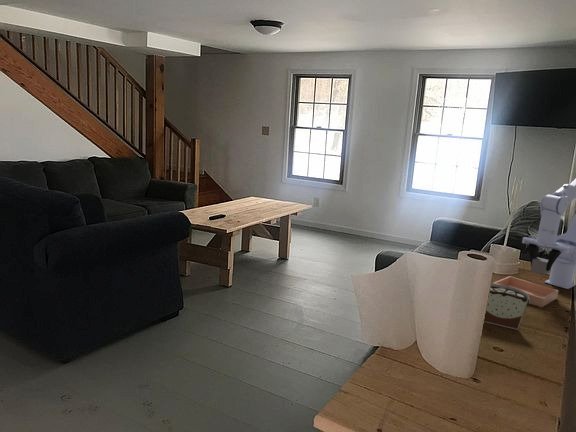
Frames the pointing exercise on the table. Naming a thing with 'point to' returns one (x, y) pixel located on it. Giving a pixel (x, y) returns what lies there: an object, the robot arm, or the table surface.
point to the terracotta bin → (531, 290)
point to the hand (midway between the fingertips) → (540, 268)
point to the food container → (506, 306)
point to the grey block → (539, 266)
